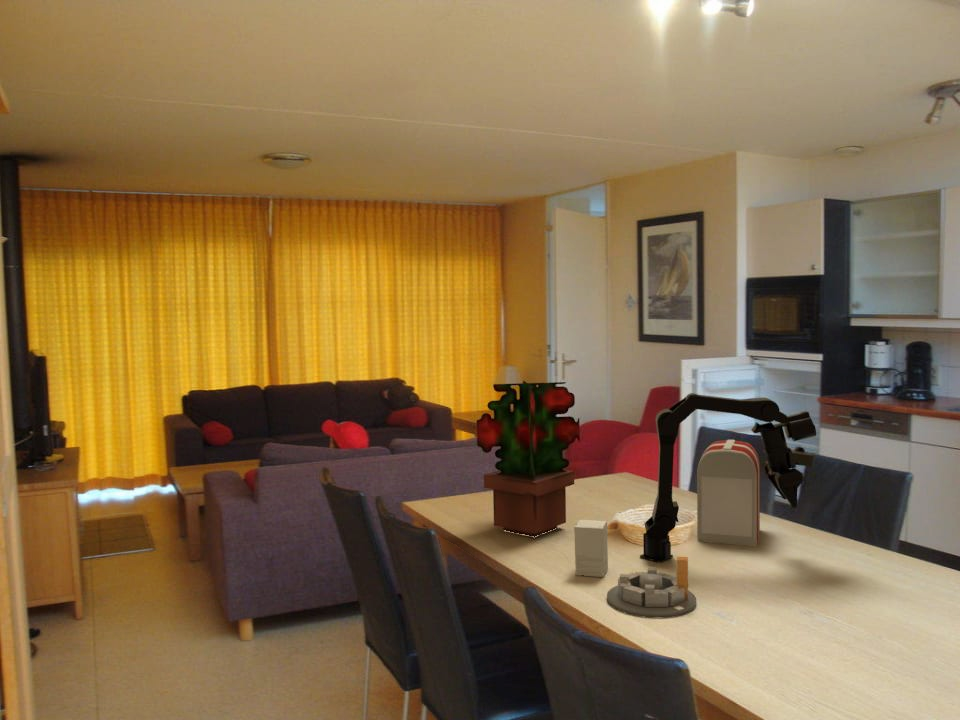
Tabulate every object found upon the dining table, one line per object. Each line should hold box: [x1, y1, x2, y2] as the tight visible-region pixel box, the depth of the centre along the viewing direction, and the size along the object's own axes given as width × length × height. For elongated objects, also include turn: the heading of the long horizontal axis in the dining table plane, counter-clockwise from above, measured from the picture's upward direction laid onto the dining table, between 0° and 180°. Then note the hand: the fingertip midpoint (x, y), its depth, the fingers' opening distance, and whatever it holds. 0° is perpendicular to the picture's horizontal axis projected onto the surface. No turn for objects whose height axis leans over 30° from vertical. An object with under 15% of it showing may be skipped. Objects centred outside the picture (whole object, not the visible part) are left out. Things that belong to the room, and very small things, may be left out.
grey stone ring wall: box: [617, 556, 689, 607], centre depth 183 cm, size 15×14×9 cm
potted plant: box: [476, 380, 581, 537], centre depth 242 cm, size 22×22×45 cm
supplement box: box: [573, 519, 609, 578], centre depth 203 cm, size 7×7×13 cm
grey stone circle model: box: [606, 574, 697, 618], centre depth 183 cm, size 20×20×6 cm
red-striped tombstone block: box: [696, 439, 761, 547], centre depth 233 cm, size 16×18×27 cm
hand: (790, 503), depth 208 cm, fingers open, 9 cm apart
